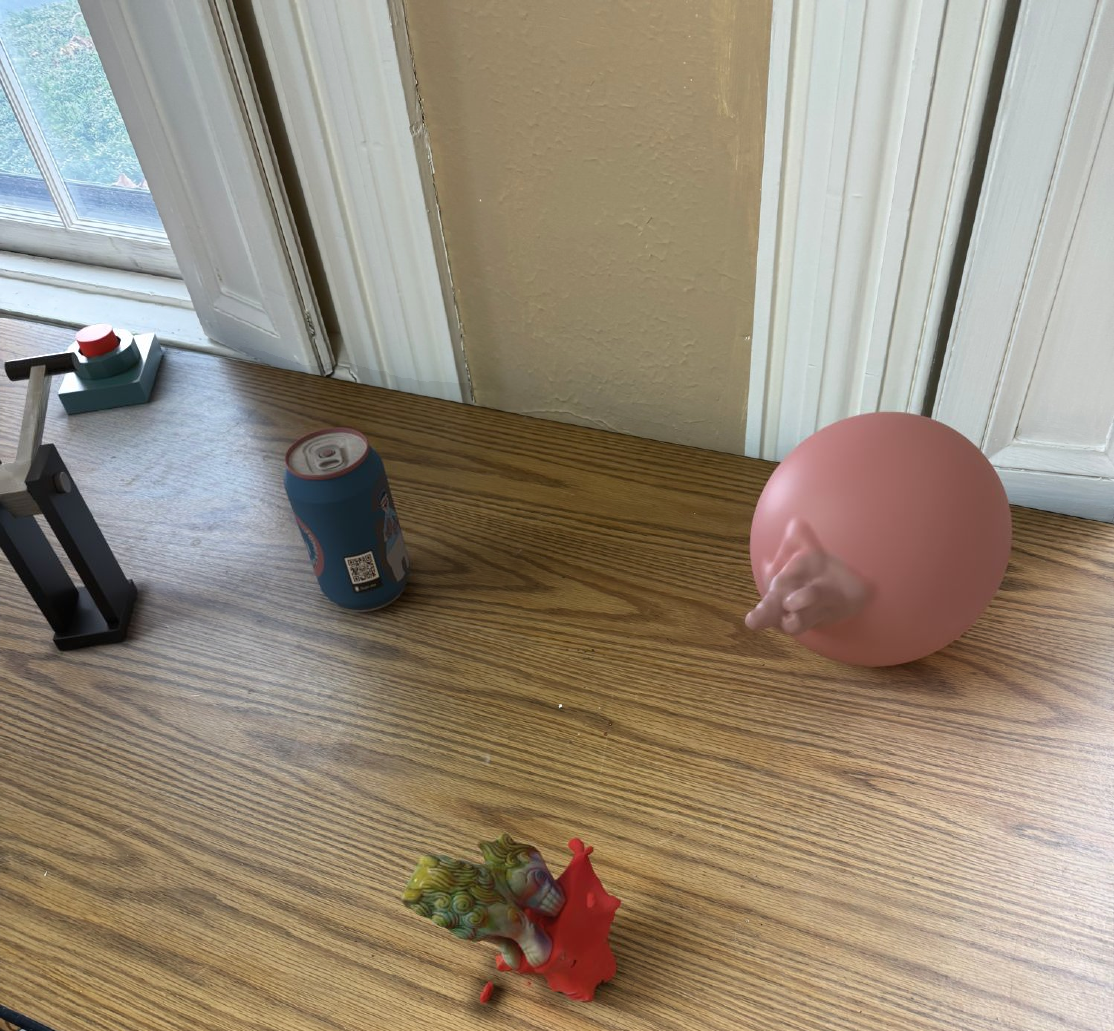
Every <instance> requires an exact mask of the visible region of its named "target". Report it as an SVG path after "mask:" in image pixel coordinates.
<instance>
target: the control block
mask: <svg viewBox="0 0 1114 1031" xmlns="http://www.w3.org/2000/svg"><path fill="white" fill-rule="evenodd" d="M113 330H114V333H115V335H116V337H117V339H118V342H119V346H118V347H117V348H115V349H114V350H113V351H111V352H108V353H105V354H103V355H99V356H93V357H88V356H84V355H83V353H82V351H81V349H80V347H79V345H78V343H77V341H76V340H75V342H72V344H70V345H69V346H68V348H67V350H66V352H69V351H73V352H75V353H76V355H77V357H78V359H79V362H80V371H79V372H73V373H67V374H64V375H65V376H64V378H63V380H62V382H61V385H60V387H59V389H58V392H57V398H59V400H60V403H61V404H62V406H63V409H64V410H65V412H66V414H67V415H75V414H80V413H86V412H93V411H100V410H106V409H112V408H119V407H126V406H127V407H128V406H133V405H138V404H139V405H140V404H145V403H149V399H150V395H151V393H152V389H153V388H154V387H153V386H154V385H155V384H154V383H155V380H156V377H157V374H158V370H159V367H160V363H161V360H162V357H163V354H164V351H163V349H162V346H161V345H160V342H159V339H158V336H157V335H156V333H155V332H151V333H144V334H137V335H133V334H132V333H131V332H130V331H129V330H127V329H121V328H120V329H119V328H113Z"/></svg>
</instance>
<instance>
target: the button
mask: <svg viewBox="0 0 1114 1031" xmlns="http://www.w3.org/2000/svg"><path fill="white" fill-rule="evenodd" d="M113 329H114V328H113V326H112V325H111V324H109V323H95V324H90V325H88V326H86V327H83V328H81V329H80V330H79V331H78V332H77V333H76V334H75V336H74V337H75V342H76V341H77V343H78V345H79V347H80V349H81V351H82V353H83V355H84V356H88V357H93V356H99V355H103V354H105V353H108V352H111V351H113V350H114V349H115V348H117V347H118V346H119V342H118V339H117V337H116V335H115V333H114V330H113Z"/></svg>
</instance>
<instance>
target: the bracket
mask: <svg viewBox="0 0 1114 1031" xmlns="http://www.w3.org/2000/svg"><path fill="white" fill-rule="evenodd" d="M0 464H3V461H2V460H1V459H0ZM24 483H25V484H26V486H27V488H28V489H29V491H30V493H31V495H32V496H33V498H34V500H35V501H36V503H37V505H38V507H39V508H40V510H41V512H42V513H43V514H42V515H43V517H44V518H45V520H46V522H47V523H48V526H49V527H50V529H51V530H52V532H53V534H54V536H55V537H56V539H57V541H58V543H59V544H60V546H61V547H62V550H63V552H64V553H65V555H66V556H67V558H68V560H69V562H70V563H71V564H72V568H74V570H75V572H76V573H77V575H78V577H79V578H80V580H81V582H82V583H83V585H82V586H76V585H75V583H74V582H73V580H72V578H71V576H70V575H69V573H68V571H67V570H66V568H65V567H64V565H63V563H62V561H61V560H60V558H59V556H58V555H57V553H56V551H55V550H54V548H53V546H52V545H51V543H50V541H49V540H48V537H47V535H46V534H45V532H44V531H43V529H42V528H41V526H40V525H39V524H40V523H39V522H38V520H37V519H36V518H35V515H32V516H26V517H19V518H13V517H12V515H11V514H10V513H9V512H8V510H7V509H6V508H5V507H4V506H3V504H2V503H1V502H0V549H1V551H2V553H3V554H4V556H5V558H6V559H7V561H8V562H9V564H10V565H11V567H12V568H13V570H14V571H15V574H16V575H17V576H18V578H19V579H20V581H21V582H22V584H23V586H24V587H25V589H26V590H27V592H28V593H29V595H30V596H31V598H32V600H33V601H34V603H35V604H36V606H37V607H38V609H39V611H40V612H41V613H42V616H43V617H44V618H45V620H46V622H47V623H48V625H49V626H50V628H51V629H52V631H53V636H52V642H53V643H54V644H55V646H56V648H57V649H58V651H59V652H62V651H68V650H76V649H81V648H83V649H84V648H88V647H95V646H101V645H108V644H114V643H121V642H122V643H123V642H125V641H126V638H127V634H128V630H129V627H130V622H131V618H132V614H133V611H134V607H135V603H136V599H137V595H138V591H139V589H138V588H137V586H136V584H135V582H134V581H133V579H132V578H127V577H126V574H125V573H124V571H123V570H122V567H121V565H120V564H119V561H118V560H117V558H116V556H115V554H114V553H113V551H112V549H111V547H110V545H109V543H108V541H107V540H106V538H105V536H104V534H103V532H102V530H101V528H100V526H99V524H98V523H97V521H96V519H95V518H94V516H93V514H92V512H91V510H90V508H89V506H88V504H87V502H86V501H85V498H84V497H83V495H82V493H81V491H80V490H79V487H78V486H77V484H76V482H75V480H74V479H73V477H72V475H71V473H70V471H69V470H68V467H67V465H66V463H65V462H64V460H63V458H62V456H61V455H60V453H59V451H58V449H57V447H56V446H55V444H54V443H53V442H49V443H44V444H41V445H39V447H38V450H37V452H36V454H35V457H34V459H33V462H32V464H31V466H30V469H29V471H28V474H27V476H26V478H25V481H24Z"/></svg>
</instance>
